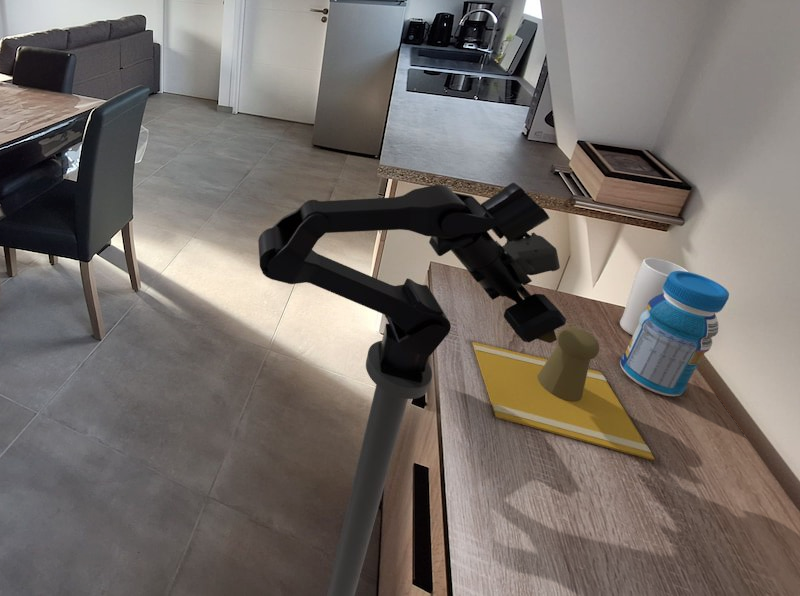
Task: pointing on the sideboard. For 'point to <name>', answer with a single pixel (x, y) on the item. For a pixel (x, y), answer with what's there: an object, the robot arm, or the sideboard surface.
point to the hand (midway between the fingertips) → (534, 318)
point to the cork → (569, 364)
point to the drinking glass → (646, 290)
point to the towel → (556, 402)
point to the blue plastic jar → (674, 333)
